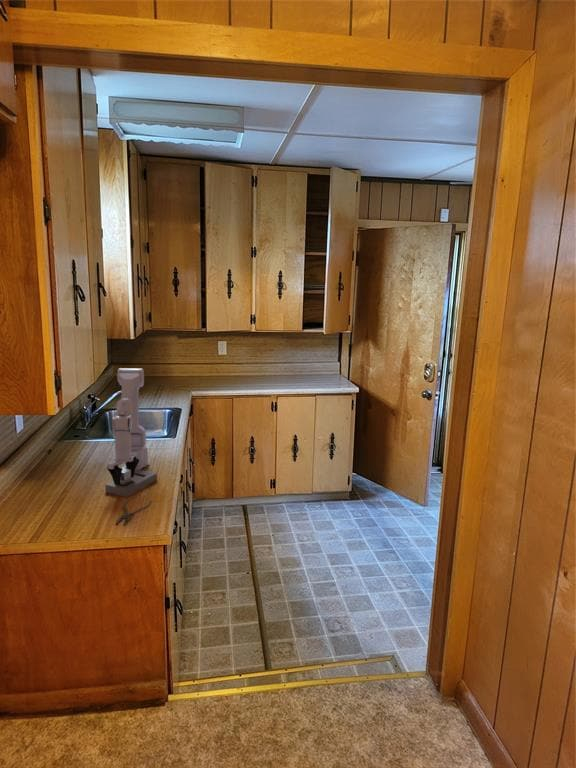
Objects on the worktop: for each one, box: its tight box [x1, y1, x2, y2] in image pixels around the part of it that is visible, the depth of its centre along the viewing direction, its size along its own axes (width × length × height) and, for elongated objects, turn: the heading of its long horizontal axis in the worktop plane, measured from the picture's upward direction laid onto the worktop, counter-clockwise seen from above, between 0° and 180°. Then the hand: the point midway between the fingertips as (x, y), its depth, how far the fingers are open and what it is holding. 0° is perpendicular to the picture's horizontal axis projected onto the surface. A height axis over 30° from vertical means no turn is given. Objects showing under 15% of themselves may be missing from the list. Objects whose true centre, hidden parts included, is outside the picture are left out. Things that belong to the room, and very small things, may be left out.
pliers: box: [115, 498, 153, 527], centre depth 169 cm, size 10×1×20 cm
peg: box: [119, 468, 131, 487], centre depth 185 cm, size 4×4×8 cm
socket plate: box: [104, 469, 158, 498], centre depth 189 cm, size 18×10×3 cm, turn 158°
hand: (124, 480), depth 185 cm, fingers open, 7 cm apart
